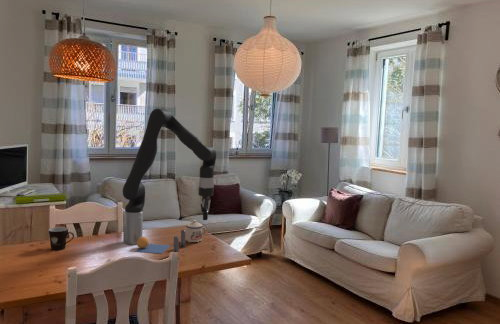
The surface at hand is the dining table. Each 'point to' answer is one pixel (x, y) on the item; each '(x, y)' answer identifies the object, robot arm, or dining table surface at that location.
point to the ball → (142, 242)
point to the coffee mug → (58, 238)
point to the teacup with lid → (194, 231)
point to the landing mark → (153, 248)
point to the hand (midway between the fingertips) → (205, 219)
